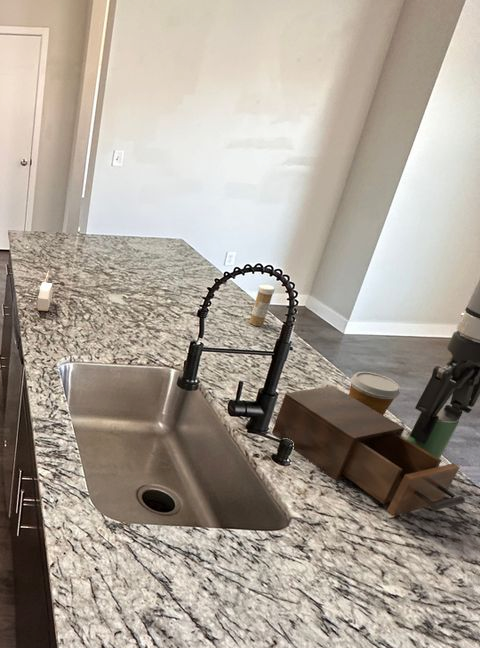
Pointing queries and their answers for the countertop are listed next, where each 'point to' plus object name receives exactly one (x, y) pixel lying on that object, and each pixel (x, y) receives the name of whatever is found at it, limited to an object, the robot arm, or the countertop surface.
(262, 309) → the sprinkles bottle
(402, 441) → the drawer
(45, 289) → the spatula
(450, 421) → the green can
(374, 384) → the disposable coffee cup
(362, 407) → the cabinet
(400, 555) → the countertop surface
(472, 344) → the robot arm
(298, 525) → the countertop surface
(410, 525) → the countertop surface
